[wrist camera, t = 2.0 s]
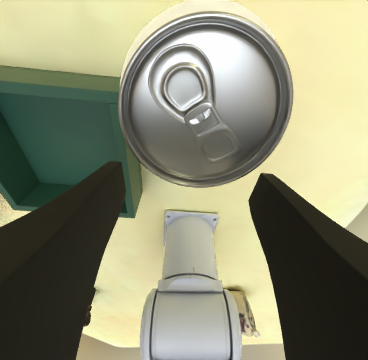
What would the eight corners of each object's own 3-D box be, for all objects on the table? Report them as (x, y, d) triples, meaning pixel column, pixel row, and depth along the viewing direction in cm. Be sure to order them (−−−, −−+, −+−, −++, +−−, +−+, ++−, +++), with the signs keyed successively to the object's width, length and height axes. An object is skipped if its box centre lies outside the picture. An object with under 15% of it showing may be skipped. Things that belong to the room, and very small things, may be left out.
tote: (142, 191, 24) (134, 218, 21) (39, 183, 24) (13, 210, 20) (133, 78, 16) (117, 92, 12) (-29, 62, 15) (-95, 71, 12)
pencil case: (175, 303, 53) (174, 348, 46) (163, 293, 48) (159, 342, 41) (251, 295, 48) (263, 344, 40) (246, 282, 43) (259, 336, 35)
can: (209, -6, 12) (275, -122, 3) (244, 81, 16) (324, 151, 7) (139, 55, 15) (57, 94, 5) (183, 120, 18) (178, 213, 9)
